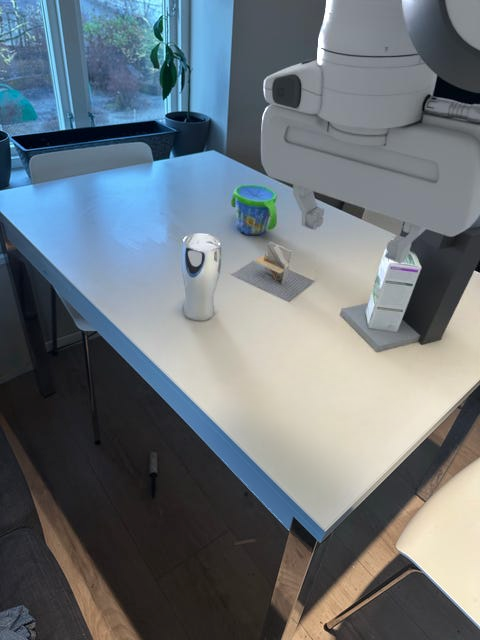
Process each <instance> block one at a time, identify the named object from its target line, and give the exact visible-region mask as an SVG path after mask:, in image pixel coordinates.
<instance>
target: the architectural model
mask: <svg viewBox="0 0 480 640" xmlns="http://www.w3.org/2000/svg"><path fill="white" fill-rule="evenodd" d="M291 256H292V250H291V249H288V248H286V247H285V246H282V245H279V244H277V243H275V242H272V241H269V242H268V245H267V253H265V254H264V255H260V256H258V257H256V258H255V259H254V260H252V261H251V262H249V263H247V264H245V265H244V266H243V267H240V268H239V269H237V270H236V271H234V272H233V273H231V274H230V275H231V276H233V277H236V278H237V279H240V280H242V281H244V282H245V283H248V284H250V285H252V286H255V287H257V288H259V289H260V290H263V291H264V292H267V293H269V294H271V295H273V296H276V297H278V298H280V299H281V300H284V301H285V302H288V303H290V302H291V301H293V300H294V299H296V297H298V296H299V295H300V294H301V293H303V292H304V291H305V290H306V289H307V288H309V287H310V286H311V285H313V284H314V283H315V282H316V280H314V279H312V278H309V277H307V276H305V275H303V274H300V273H298V272H295V271H294V270H291V269H290V261H291Z"/></svg>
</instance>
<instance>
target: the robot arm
mask: <svg viewBox="0 0 480 640" xmlns="http://www.w3.org/2000/svg"><path fill="white" fill-rule="evenodd" d="M438 77H439V78H441V80H443V81H445V82H447V83H448V84H450V85H452V86H454V87H457V88H459V89H461V90H464V91H468V92H471V93H476V94H480V0H325V10H324V17H323V20H322V25H321V27H320V29H319V35H318V40H317V55H316V56H315V57H310V58H308V59H306V60H303V61H302V62H300V63H297V64H294V65H291V66H288V67H286V68H283V69H280V70H278V71H276V72H274V73H272V74H270V75H268V76H266V78H264V80H263V97H264V99H265V101H266V103H268V104H269V105H267V106H266V108H265V109H264V111H263V114H262V119H261V129H260V130H261V131H260V160H261V165H262V167H263V169H264V172H265V173H266V174H267V176H268V177H269V178H272V179H276V180H279V181H281V182H285V183H286V184H287V183H288V184H290V185H292V194H293V195H292V196H293V197H294V199H295V201H296V203H297V205H298V207H299V210H300V211H301V226H303V227H304V228H307V229H309V230H312V231H315V230H317V229H318V228H320V227H322V225H323V223H324V218H323V216H324V214H325V208H322V207H320V206H318V203H317V200H316V197H315V194H314V193H317V194H320V195H324V196H326V197H329V198H332V199H335V200H338V201H342V202H344V203H347V204H350V205H353V206H356V207H359V208H363V209H365V210H369V211H371V212H374V213H377V214H381V215H383V216H386V217H389V218H392V219H396V220H398V221H401V222H405V223H404V228H403V231H404V232H407V233H409V234H408V235H407V236H406V237H402V236H400V234H397V235H396V236H394V237H393V239H391V240H390V241H388V242H387V244H386V248H387V253H386V254H385V258H387V259H390V260H392V261H395V262H397V263H400V264H401V263H402V262H403V261H404V260H405V259H406V258H407V256H408V254H409V251H410V247H411V243H412V242H413V241H414V240H415V239H416V238H417V237H418V236H419V235H420V234H421V233H423V232H424V231H425V230H426V229H428V230H431V231H434V232H437V233H440V234H443V235H446V236H450V237H452V236H455V235H457V234H459V233H461V232H463V231H465V230H467V229H468V228H469V227H470V226H471V225H472V224H473V223H474V222H475V221H476V220H477V218H478V217H479V215H480V103H473V104H469V103H465V102H460V101H457V100H454V99H449V98H444V97H439V96H434V92H435V88H436V83H437V79H438Z"/></svg>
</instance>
